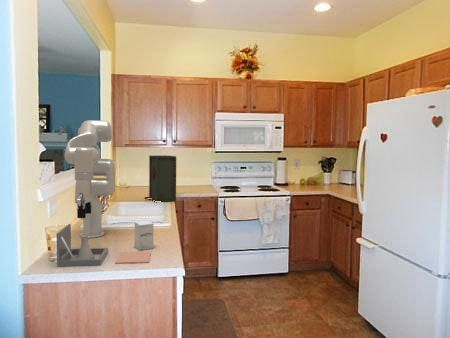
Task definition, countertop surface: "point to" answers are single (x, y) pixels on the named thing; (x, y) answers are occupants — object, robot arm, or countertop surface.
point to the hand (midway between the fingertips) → (84, 215)
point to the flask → (85, 249)
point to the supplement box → (144, 235)
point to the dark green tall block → (162, 178)
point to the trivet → (133, 257)
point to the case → (74, 251)
